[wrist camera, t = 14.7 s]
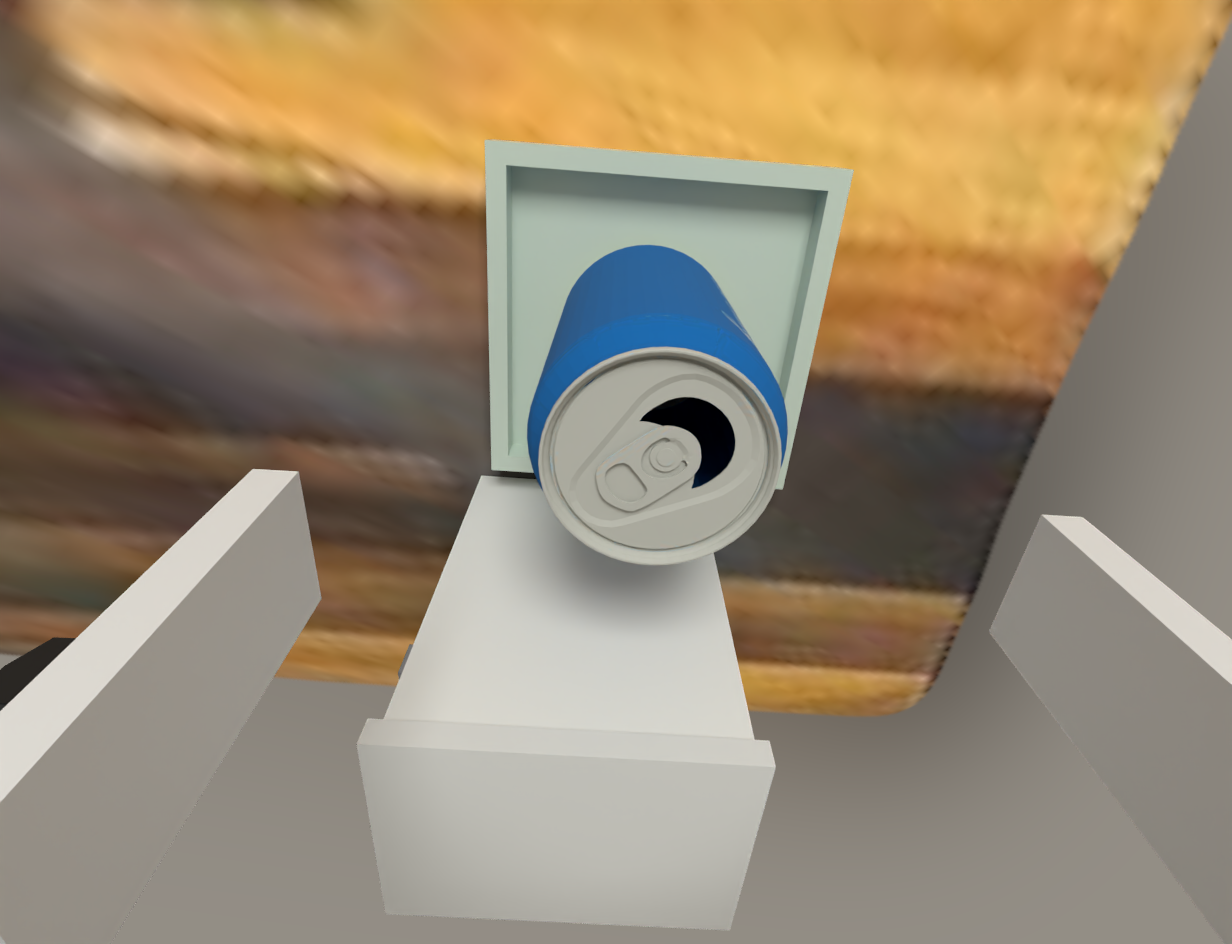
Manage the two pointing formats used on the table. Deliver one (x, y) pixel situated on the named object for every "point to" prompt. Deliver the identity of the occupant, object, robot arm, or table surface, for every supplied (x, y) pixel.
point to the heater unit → (565, 736)
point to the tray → (651, 215)
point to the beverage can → (655, 412)
